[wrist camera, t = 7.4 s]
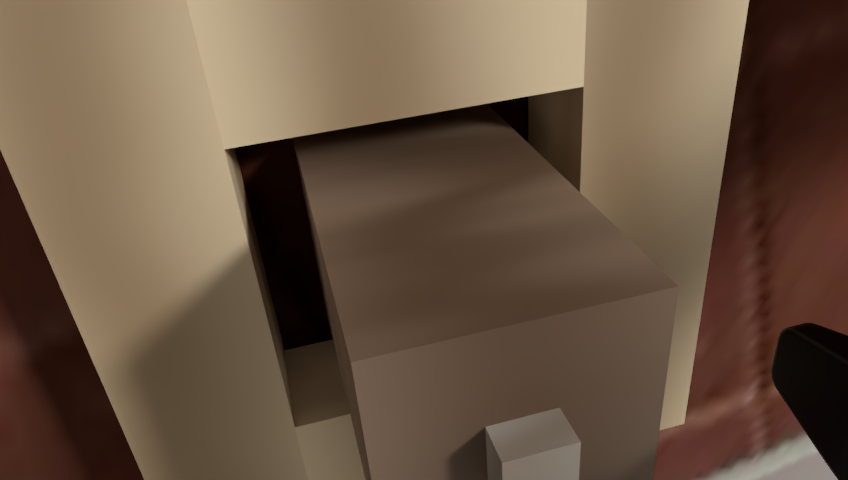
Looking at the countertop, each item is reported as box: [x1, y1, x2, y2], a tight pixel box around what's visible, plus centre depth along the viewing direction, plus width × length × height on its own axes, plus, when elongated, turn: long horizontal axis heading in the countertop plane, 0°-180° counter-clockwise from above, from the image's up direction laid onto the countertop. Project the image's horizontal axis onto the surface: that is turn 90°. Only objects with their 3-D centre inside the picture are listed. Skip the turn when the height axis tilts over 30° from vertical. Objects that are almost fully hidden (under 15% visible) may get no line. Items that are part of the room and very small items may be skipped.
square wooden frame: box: [0, 0, 749, 480], centre depth 14 cm, size 12×12×2 cm
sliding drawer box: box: [293, 104, 679, 480], centre depth 12 cm, size 4×4×8 cm
